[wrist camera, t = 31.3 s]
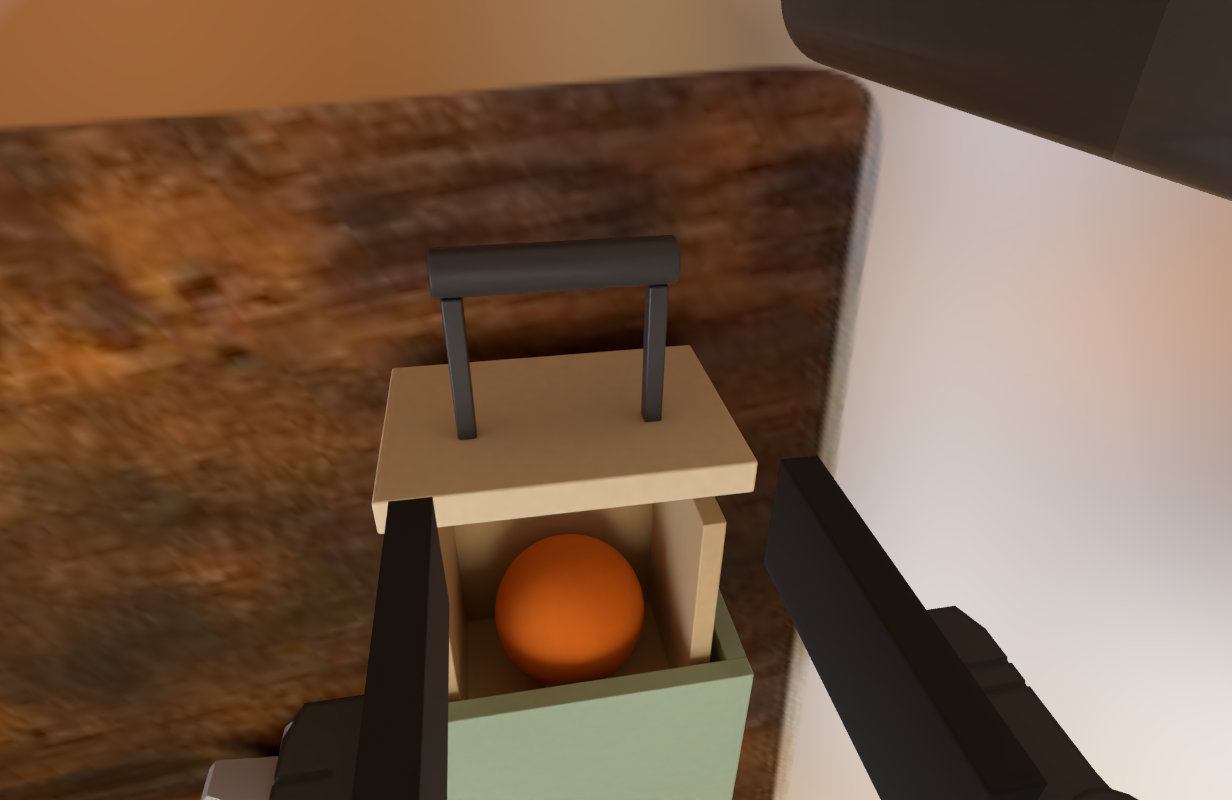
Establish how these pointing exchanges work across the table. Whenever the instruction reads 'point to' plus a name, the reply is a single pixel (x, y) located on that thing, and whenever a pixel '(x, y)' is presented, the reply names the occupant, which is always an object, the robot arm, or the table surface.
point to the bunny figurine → (241, 778)
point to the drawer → (565, 455)
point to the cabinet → (609, 734)
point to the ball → (569, 610)
